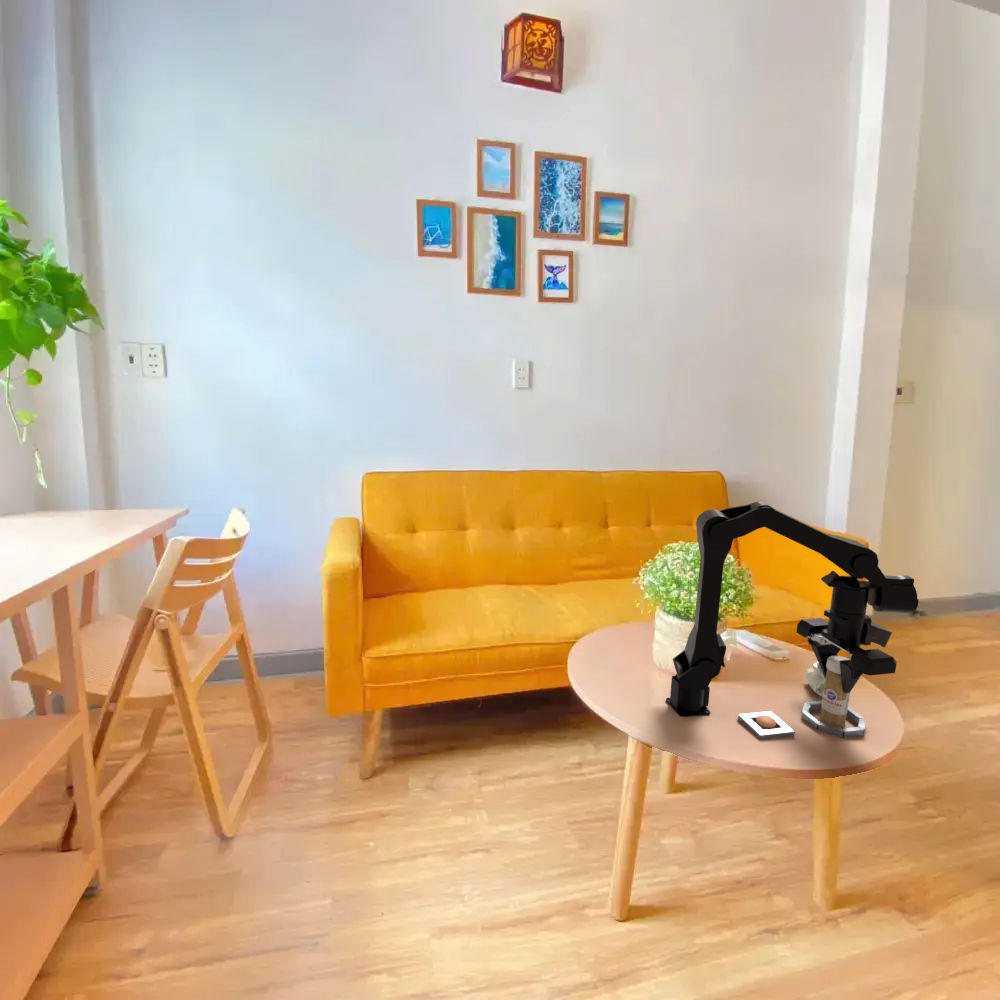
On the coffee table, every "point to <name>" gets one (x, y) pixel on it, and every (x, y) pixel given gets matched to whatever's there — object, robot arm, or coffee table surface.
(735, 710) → the coffee table surface
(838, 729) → the socket ring
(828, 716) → the sprinkles bottle
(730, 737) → the coffee table surface
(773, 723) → the plunger
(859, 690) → the coffee table surface
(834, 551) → the robot arm
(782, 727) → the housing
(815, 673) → the valve
